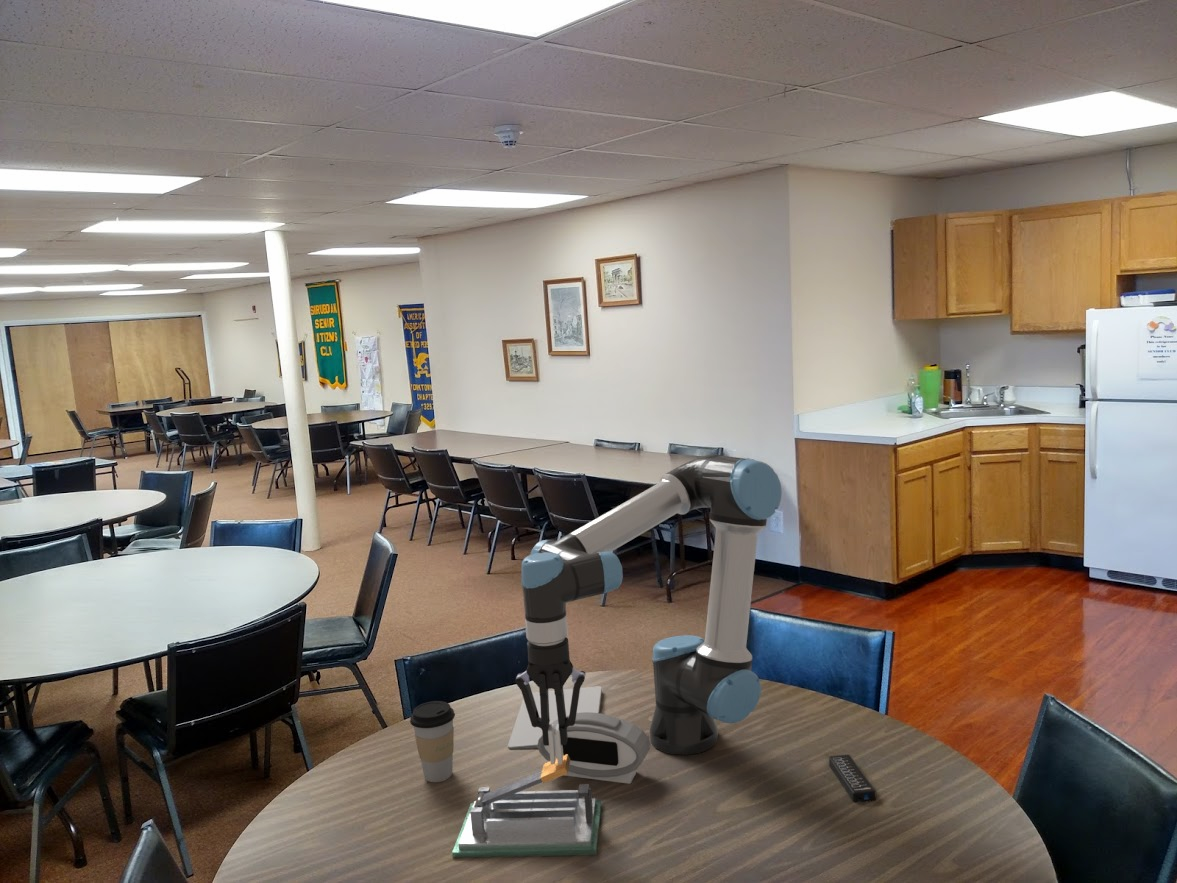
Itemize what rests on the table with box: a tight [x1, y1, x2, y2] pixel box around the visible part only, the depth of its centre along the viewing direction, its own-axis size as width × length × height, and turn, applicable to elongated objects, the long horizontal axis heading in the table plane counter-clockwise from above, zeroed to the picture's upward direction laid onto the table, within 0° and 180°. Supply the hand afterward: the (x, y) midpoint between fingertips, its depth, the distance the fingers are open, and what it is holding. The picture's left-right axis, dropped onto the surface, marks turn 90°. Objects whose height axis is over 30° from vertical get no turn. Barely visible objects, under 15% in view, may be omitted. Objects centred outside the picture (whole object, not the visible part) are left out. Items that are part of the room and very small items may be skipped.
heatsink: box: [451, 783, 602, 858], centre depth 162 cm, size 26×16×8 cm, turn 86°
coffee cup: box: [409, 700, 456, 783], centre depth 184 cm, size 9×9×15 cm
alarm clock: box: [537, 712, 652, 784], centre depth 180 cm, size 23×6×13 cm, turn 70°
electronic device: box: [507, 685, 603, 750], centre depth 208 cm, size 29×20×2 cm
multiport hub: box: [828, 754, 877, 803], centre depth 171 cm, size 4×14×2 cm, turn 3°
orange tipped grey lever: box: [474, 754, 570, 807], centre depth 161 cm, size 19×5×2 cm, turn 85°
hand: (557, 760), depth 160 cm, fingers closed
